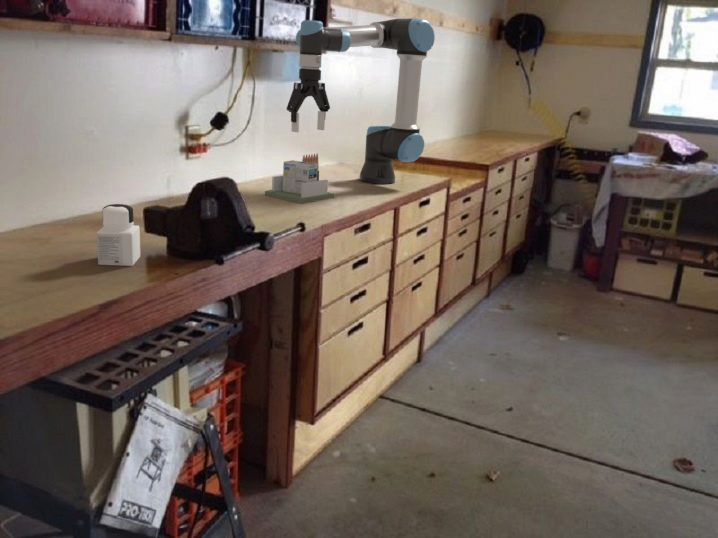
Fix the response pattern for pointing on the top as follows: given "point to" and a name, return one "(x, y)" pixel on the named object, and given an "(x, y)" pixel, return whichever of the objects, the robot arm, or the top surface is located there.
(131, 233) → the container
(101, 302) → the top surface
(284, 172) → the light bulb box
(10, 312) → the top surface
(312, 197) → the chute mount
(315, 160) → the ammunition clip
